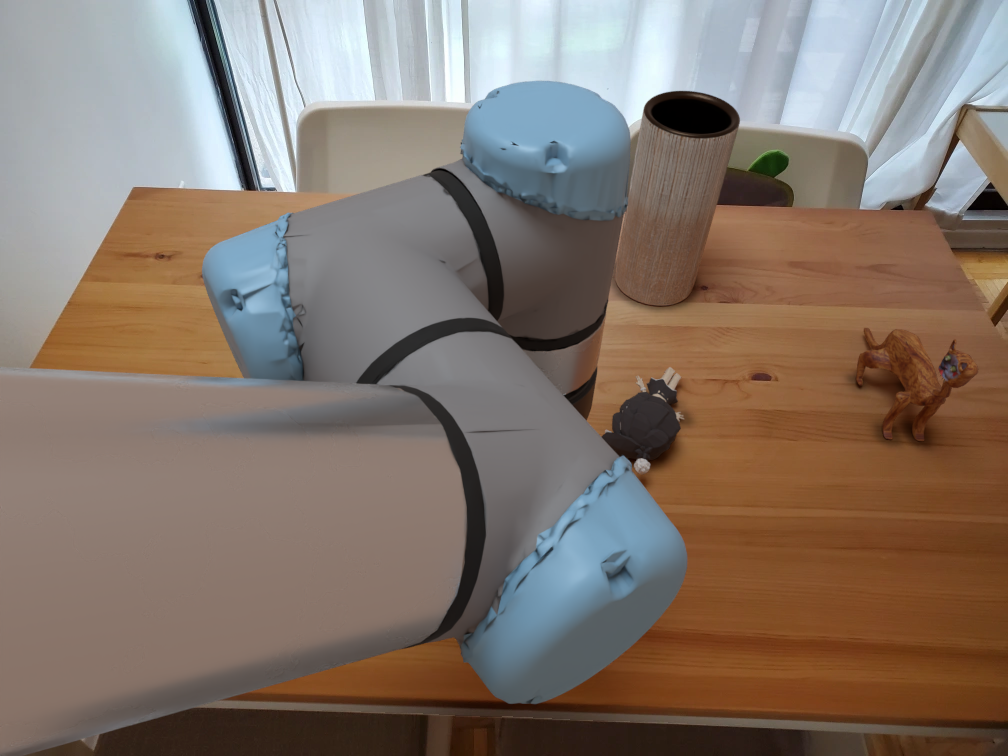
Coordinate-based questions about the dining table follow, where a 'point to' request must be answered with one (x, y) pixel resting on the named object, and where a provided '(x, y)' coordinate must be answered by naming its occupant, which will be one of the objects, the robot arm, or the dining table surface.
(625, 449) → the figurine
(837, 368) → the dining table surface
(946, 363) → the cat figurine
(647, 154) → the planter
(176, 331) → the dining table surface
